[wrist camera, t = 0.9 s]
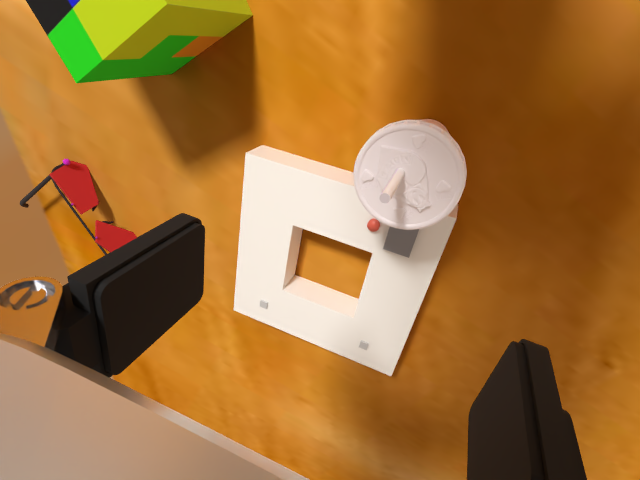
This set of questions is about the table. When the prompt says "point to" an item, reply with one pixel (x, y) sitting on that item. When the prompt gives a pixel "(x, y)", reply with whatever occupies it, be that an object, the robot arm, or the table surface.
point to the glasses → (83, 202)
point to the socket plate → (344, 226)
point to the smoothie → (410, 174)
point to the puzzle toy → (134, 33)
